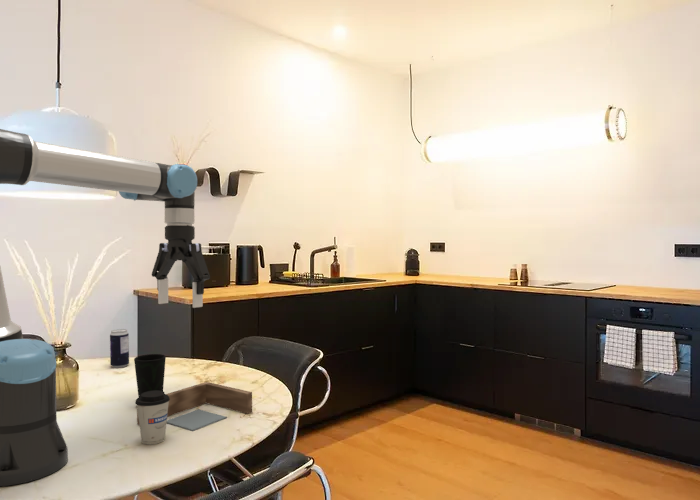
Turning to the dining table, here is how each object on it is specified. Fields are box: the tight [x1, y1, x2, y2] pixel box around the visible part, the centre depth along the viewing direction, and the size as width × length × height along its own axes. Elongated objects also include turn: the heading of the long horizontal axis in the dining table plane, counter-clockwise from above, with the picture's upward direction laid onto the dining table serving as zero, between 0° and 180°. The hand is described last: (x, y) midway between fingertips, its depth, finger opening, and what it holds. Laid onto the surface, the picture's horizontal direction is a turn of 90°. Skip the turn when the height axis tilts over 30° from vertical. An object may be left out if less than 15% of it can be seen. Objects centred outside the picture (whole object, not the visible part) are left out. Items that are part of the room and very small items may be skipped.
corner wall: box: [136, 381, 253, 426], centre depth 126 cm, size 20×16×5 cm
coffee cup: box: [134, 390, 170, 445], centre depth 113 cm, size 7×7×10 cm
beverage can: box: [109, 328, 130, 369], centre depth 176 cm, size 6×6×12 cm
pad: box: [166, 408, 228, 432], centre depth 125 cm, size 10×10×1 cm
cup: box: [133, 353, 166, 398], centre depth 137 cm, size 8×8×12 cm
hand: (180, 305), depth 140 cm, fingers open, 13 cm apart
